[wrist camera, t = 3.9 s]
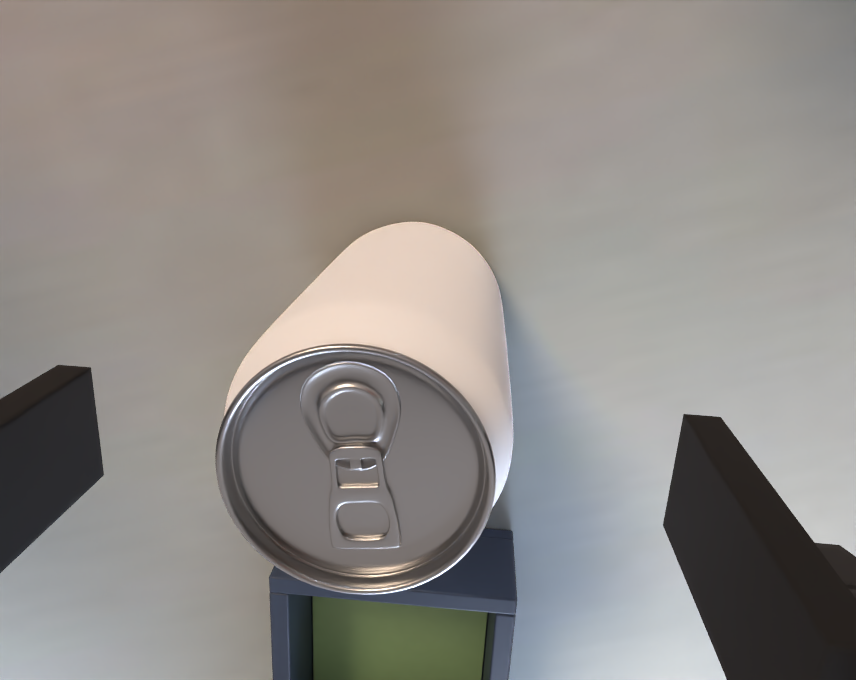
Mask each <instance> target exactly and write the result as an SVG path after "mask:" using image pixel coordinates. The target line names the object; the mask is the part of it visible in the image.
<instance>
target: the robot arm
mask: <svg viewBox="0 0 856 680" xmlns="http://www.w3.org/2000/svg"><path fill="white" fill-rule="evenodd" d="M103 475H104V472H103V464H102V456H101V448H100V439H99V431H98V423H97V415H96V407H95V398H94V390H93V382H92V374H91V368H90V367H77V366H65V365H57V366H56V367H54V368H52V369H51V370H49V371H47V372H46V373H44V374H42V375H40V376H39V377H37V378H35V379H34V380H32V381H30V382H29V383H27V384H25V385H24V386H22V387H20V388H19V389H17V390H15V391H13V392H12V393H10V394H8V395H7V396H5V397H3V398H2V399H0V573H1V572H2V571H3V570H4V569H5V568H6V567H7V566H8V565H9V564H10V563H11V562H12V561H13V560H15V559H16V558H17V557H18V556H19V555H20V554H21V553H22V552H23V551H24V550H25V549H26V548H27V547H28V546H29V545H30V544H31V543H32V542H34V541H35V540H36V539H37V538H38V537H39V536H40V535H41V534H42V533H43V532H44V531H45V530H46V529H47V528H48V527H49V526H50V525H52V524H53V523H54V522H55V521H56V520H57V519H58V518H59V517H60V516H61V515H62V514H63V513H64V512H65V511H66V510H67V509H68V508H69V507H71V506H72V505H73V504H74V503H75V502H76V501H77V500H78V499H79V498H80V497H81V496H82V495H83V494H84V493H85V492H86V491H87V490H89V489H90V488H91V487H92V486H93V485H94V484H95V483H96V482H97V481H98V480H99V479H100V478H101V477H102V476H103ZM663 526H664V528H665V531H666V533H667V536H668V538H669V541H670V543H671V545H672V548H673V550H674V553H675V555H676V557H677V560H678V562H679V565H680V567H681V570H682V572H683V574H684V577H685V579H686V582H687V584H688V586H689V589H690V591H691V594H692V596H693V599H694V601H695V603H696V606H697V608H698V611H699V613H700V615H701V618H702V620H703V623H704V625H705V628H706V630H707V632H708V635H709V637H710V640H711V642H712V644H713V647H714V649H715V652H716V654H717V656H718V659H719V661H720V664H721V666H722V669H723V671H724V673H725V676H726V678H727V680H856V557H855V556H854V555H852V554H851V553H850V552H848V551H847V550H845V549H844V548H843V547H841V546H840V545H832V544H821V543H814V542H813V540H812V539H811V538H810V536H809V535H808V534H807V532H806V531H805V530H804V528H803V527H802V526H801V524H800V523H799V522H798V520H797V519H796V518H795V516H794V515H793V514H792V512H791V511H790V510H789V508H788V507H787V505H786V504H785V503H784V501H783V500H782V499H781V497H780V496H779V495H778V493H777V492H776V491H775V489H774V488H773V487H772V485H771V484H770V483H769V481H768V480H767V479H766V477H765V476H764V475H763V473H762V472H761V471H760V469H759V468H758V467H757V465H756V464H755V463H754V461H753V460H752V459H751V457H750V456H749V455H748V453H747V452H746V451H745V449H744V448H743V446H742V445H741V444H740V442H739V441H738V440H737V438H736V437H735V436H734V434H733V433H732V432H731V430H730V429H729V428H728V426H727V425H726V424H725V422H724V421H723V420H722V418H721V417H713V416H701V415H688V414H684V415H683V421H682V426H681V432H680V437H679V442H678V448H677V453H676V458H675V464H674V469H673V475H672V480H671V485H670V491H669V496H668V501H667V507H666V512H665V518H664V523H663Z"/></svg>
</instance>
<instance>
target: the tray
mask: <svg viewBox="0 0 856 680" xmlns="http://www.w3.org/2000/svg"><path fill="white" fill-rule="evenodd" d="M269 585H270V615H271V642H272V670H273V680H508V678H509V669H510V660H511V651H512V642H513V633H514V624H515V613H516V606H517V591H516V576H515V561H514V546H513V532H512V531H508V530H496V529H485V528H484V530H483V531H482V533H481V535H480V537H479V538H478V540H477V541H476V543H475V544H474V545H473V547H472V548H471V549H470V550H469V551H468V553H467V554H466V555H465V556H464V557H463V558H462V559H461V560H460V561H458V562H457V563H456V564H455V565H454V566H452V567H451V568H450V569H448V570H447V571H446V572H444V573H443V574H441V575H439V576H438V577H436V578H434V579H432V580H430V581H428V582H426V583H423V584H421V585H418V586H416V587H413V588H409V589H406V590H402V591H398V592H392V593H386V594H374V595H360V594H348V593H341V592H335V591H331V590H327V589H323V588H320V587H316V586H314V585H311V584H308V583H306V582H303V581H301V580H299V579H297V578H295V577H293V576H291V575H289V574H287V573H285V572H284V571H282V570H281V569H279V568H277V567H276V566H274V568H273V570H272V572H271V575H270V577H269Z"/></svg>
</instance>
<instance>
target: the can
mask: <svg viewBox="0 0 856 680" xmlns="http://www.w3.org/2000/svg"><path fill="white" fill-rule="evenodd" d="M512 450H513V415H512V400H511V388H510V376H509V365H508V354H507V343H506V333H505V323H504V314H503V306H502V299H501V294H500V290H499V286H498V283H497V281H496V278H495V276H494V274H493V272H492V270H491V268H490V266H489V265H488V263H487V262H486V260H485V259H484V258H483V256H482V255H481V254H480V253H479V252H478V251H477V250H476V249H475V248H474V247H473V246H472V245H471V244H470V243H469V242H467V241H466V240H465V239H463V238H462V237H460V236H458V235H457V234H455V233H453V232H451V231H449V230H447V229H445V228H442V227H440V226H437V225H434V224H430V223H425V222H403V223H396V224H392V225H388V226H384V227H381V228H378V229H375V230H373V231H370V232H368V233H366V234H364V235H363V236H361V237H360V238H358V239H357V240H355V241H354V242H353V243H352V244H350V245H349V246H348V247H347V248H346V249H345V250H344V251H343V252H342V253H341V254H340V255H339V256H338V257H337V258H336V259H335V260H334V261H333V262H332V263H331V264H330V265H329V266H328V267H327V268H326V269H325V270H324V271H323V272H322V273H321V274H320V275H319V276H318V277H317V278H316V279H315V280H314V281H313V282H312V283H311V284H310V285H309V286H308V287H307V288H306V289H305V290H304V291H303V292H302V293H301V295H300V296H299V297H298V298H297V299H296V300H295V301H294V302H293V303H292V304H291V305H290V306H289V307H288V308H287V309H286V310H285V311H284V312H283V313H282V314H281V315H280V316H279V318H278V319H277V320H276V321H275V322H274V323H273V324H272V325H271V326H270V327H269V328H268V329H267V330H266V331H265V333H264V334H263V335H262V336H261V337H260V338H259V340H258V341H257V342H256V343H255V344H254V346H253V347H252V348H251V349H250V351H249V352H248V354H247V355H246V356H245V358H244V360H243V361H242V363H241V365H240V366H239V368H238V370H237V372H236V374H235V376H234V378H233V381H232V383H231V386H230V389H229V392H228V396H227V400H226V406H225V413H224V419H223V421H222V424H221V427H220V431H219V434H218V439H217V445H216V474H217V480H218V485H219V489H220V493H221V496H222V499H223V502H224V504H225V506H226V509H227V511H228V513H229V515H230V517H231V519H232V520H233V522H234V524H235V525H236V527H237V528H238V530H239V531H240V532H241V534H242V535H243V536H244V538H245V539H246V540H247V541H248V542H249V543H250V545H251V546H252V547H253V548H254V549H255V550H256V551H257V552H258V553H260V554H261V555H262V556H263V557H264V558H265V559H267V560H268V561H269V562H270V563H272V564H273V565H275V566H276V567H277V568H279V569H281V570H282V571H284V572H285V573H287V574H289V575H291V576H293V577H295V578H297V579H299V580H301V581H303V582H306V583H308V584H311V585H314V586H316V587H320V588H323V589H327V590H331V591H335V592H341V593H348V594H360V595H374V594H386V593H392V592H398V591H402V590H406V589H409V588H413V587H416V586H418V585H421V584H423V583H426V582H428V581H430V580H432V579H434V578H436V577H438V576H439V575H441V574H443V573H444V572H446V571H447V570H448V569H450V568H451V567H452V566H454V565H455V564H456V563H457V562H458V561H460V560H461V559H462V558H463V557H464V556H465V555H466V554H467V553H468V551H469V550H470V549H471V548H472V547H473V545H474V544H475V543H476V541H477V540H478V538H479V537H480V535H481V533H482V531H483V530H484V528H485V526H486V523H487V521H488V519H489V516H490V513H491V510H492V508H493V506H494V505H495V503H496V501H497V500H498V498H499V496H500V494H501V492H502V490H503V487H504V485H505V482H506V479H507V476H508V473H509V469H510V464H511V457H512Z"/></svg>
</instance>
